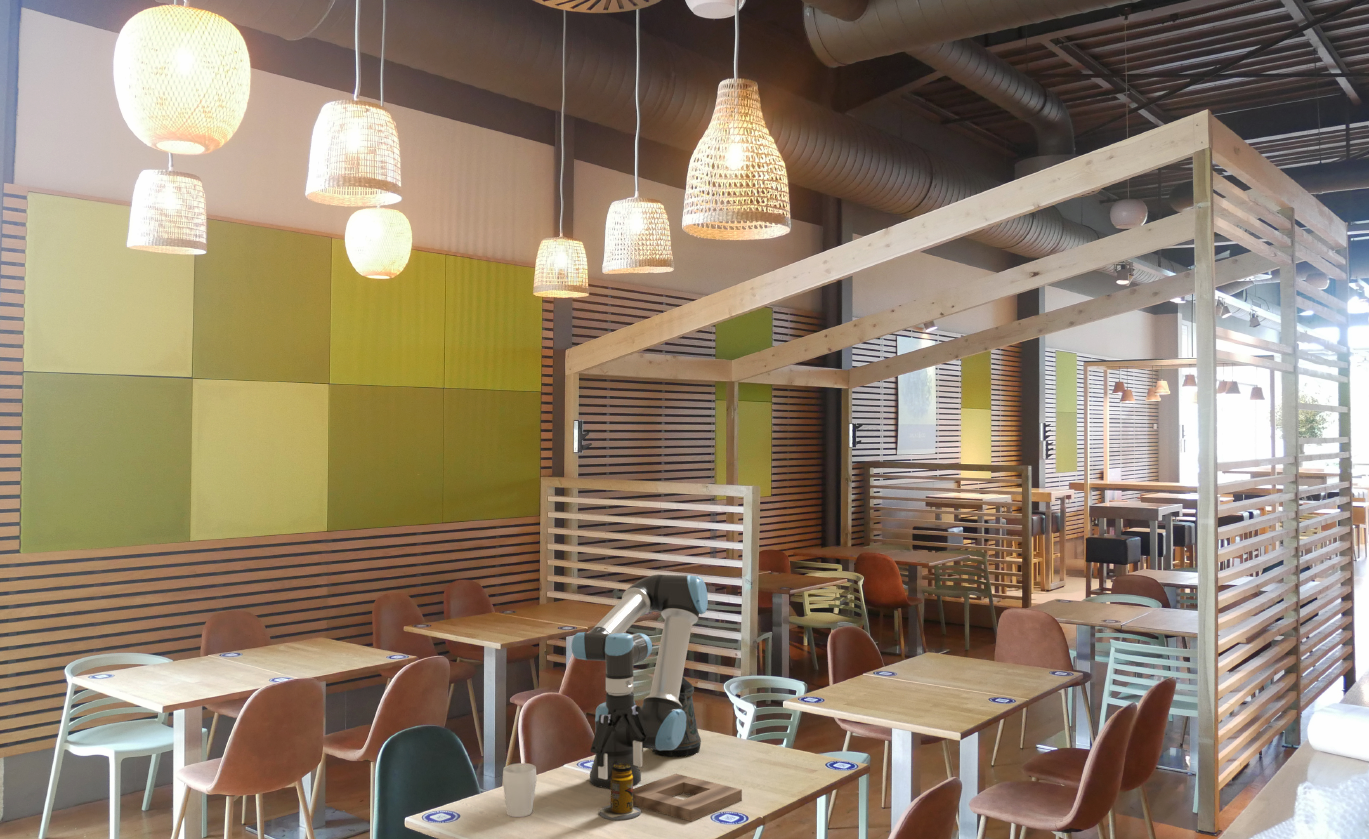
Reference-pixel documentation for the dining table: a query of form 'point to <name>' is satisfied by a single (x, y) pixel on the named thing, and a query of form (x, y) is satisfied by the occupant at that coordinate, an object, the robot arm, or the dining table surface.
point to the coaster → (622, 817)
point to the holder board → (692, 808)
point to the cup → (519, 788)
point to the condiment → (621, 791)
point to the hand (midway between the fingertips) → (620, 771)
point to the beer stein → (691, 736)
